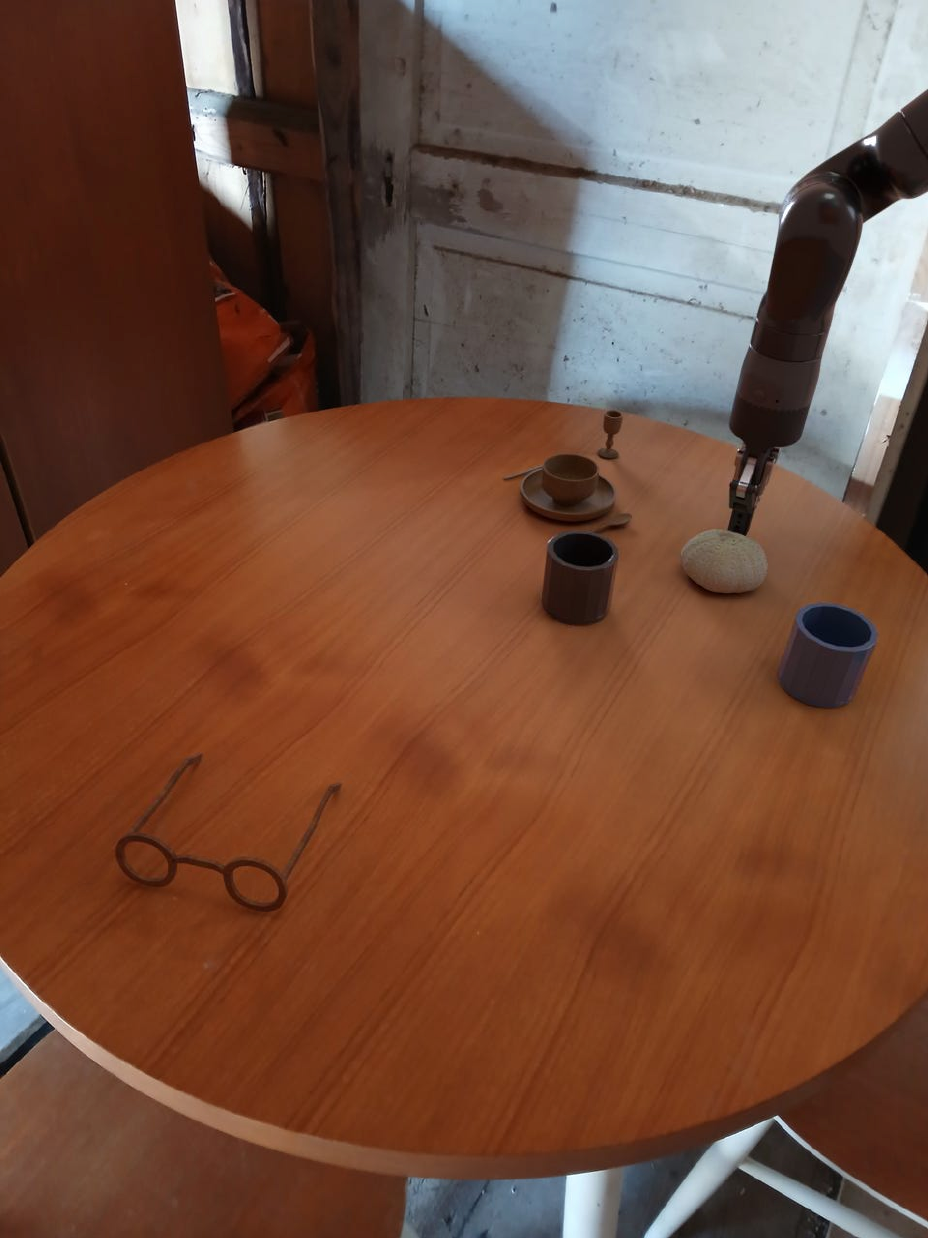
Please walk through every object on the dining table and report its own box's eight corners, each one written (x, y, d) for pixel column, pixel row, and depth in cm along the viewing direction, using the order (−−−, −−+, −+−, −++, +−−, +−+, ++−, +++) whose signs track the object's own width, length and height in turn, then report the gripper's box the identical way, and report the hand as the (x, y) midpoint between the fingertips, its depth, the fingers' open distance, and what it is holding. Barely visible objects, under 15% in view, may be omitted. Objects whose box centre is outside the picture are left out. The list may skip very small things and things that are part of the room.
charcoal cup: (618, 596, 97) (628, 542, 93) (594, 633, 92) (603, 577, 88) (557, 577, 100) (563, 523, 95) (530, 611, 95) (536, 556, 90)
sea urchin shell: (704, 526, 105) (758, 503, 99) (735, 586, 106) (791, 567, 99) (658, 555, 100) (713, 533, 93) (691, 618, 100) (747, 600, 94)
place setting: (486, 481, 116) (489, 439, 112) (606, 445, 125) (612, 406, 121) (572, 547, 104) (577, 503, 101) (696, 502, 113) (706, 460, 110)
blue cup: (859, 673, 89) (882, 617, 84) (848, 718, 84) (871, 660, 79) (785, 649, 91) (804, 594, 87) (770, 692, 86) (788, 635, 82)
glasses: (119, 882, 67) (105, 840, 64) (198, 756, 77) (189, 714, 74) (286, 921, 65) (280, 878, 62) (345, 786, 75) (342, 744, 72)
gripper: (798, 425, 86) (756, 572, 97) (824, 375, 95) (783, 514, 106) (721, 407, 89) (688, 552, 100) (753, 360, 98) (720, 497, 109)
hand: (737, 532), depth 103 cm, fingers closed
